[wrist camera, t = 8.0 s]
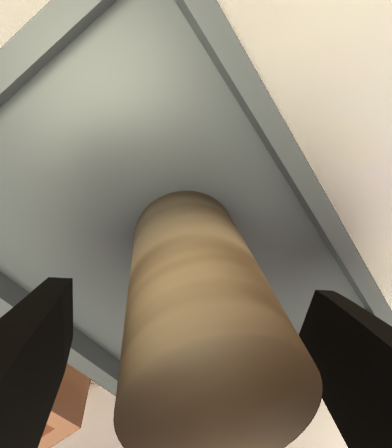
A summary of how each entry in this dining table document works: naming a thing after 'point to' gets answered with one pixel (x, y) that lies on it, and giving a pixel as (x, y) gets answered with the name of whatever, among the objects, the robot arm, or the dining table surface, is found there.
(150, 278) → the birch peg
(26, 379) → the robot arm
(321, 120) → the dining table surface
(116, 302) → the slate tray
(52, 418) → the square terracotta tray
